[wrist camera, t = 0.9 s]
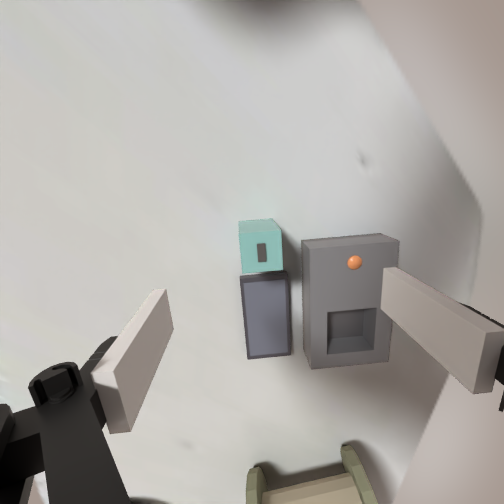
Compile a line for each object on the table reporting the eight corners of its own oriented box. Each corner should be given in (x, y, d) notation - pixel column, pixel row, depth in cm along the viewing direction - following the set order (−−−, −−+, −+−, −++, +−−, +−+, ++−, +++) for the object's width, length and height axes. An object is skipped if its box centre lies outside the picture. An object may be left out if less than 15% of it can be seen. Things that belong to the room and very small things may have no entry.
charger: (238, 221, 30) (238, 234, 24) (271, 218, 31) (281, 230, 24) (241, 253, 32) (242, 274, 25) (273, 250, 32) (283, 270, 25)
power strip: (301, 240, 31) (310, 249, 27) (380, 233, 32) (400, 241, 28) (303, 348, 36) (311, 370, 32) (372, 342, 36) (389, 362, 32)
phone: (247, 354, 36) (247, 360, 35) (239, 275, 32) (239, 279, 31) (289, 350, 36) (290, 355, 35) (286, 271, 33) (287, 274, 32)
